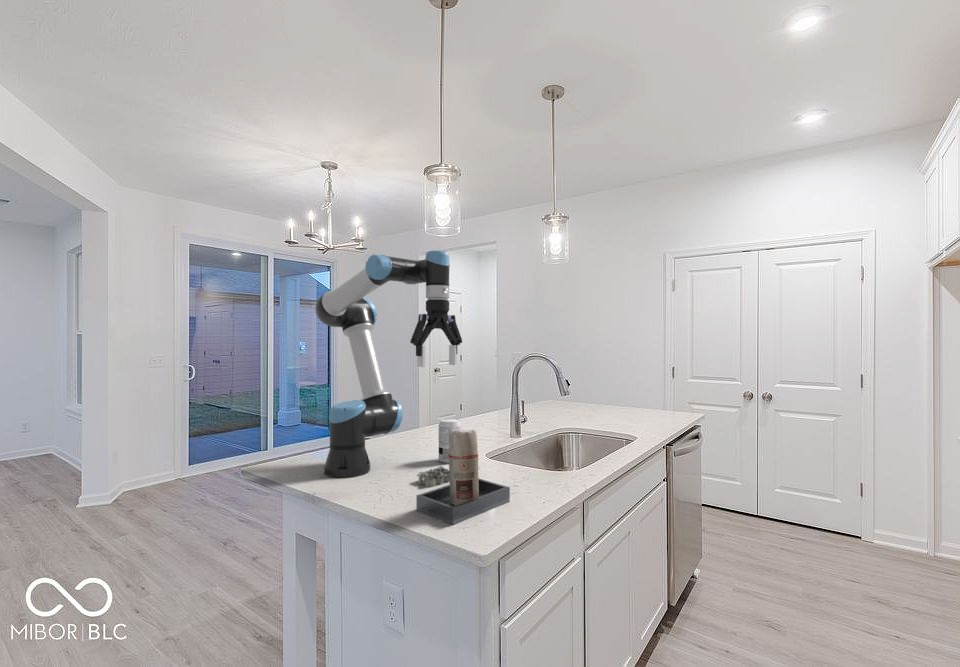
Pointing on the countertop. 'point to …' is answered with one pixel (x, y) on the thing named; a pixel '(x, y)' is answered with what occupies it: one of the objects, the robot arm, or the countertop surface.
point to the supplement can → (446, 437)
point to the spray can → (463, 466)
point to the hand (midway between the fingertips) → (437, 365)
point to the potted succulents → (434, 476)
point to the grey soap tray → (442, 509)
